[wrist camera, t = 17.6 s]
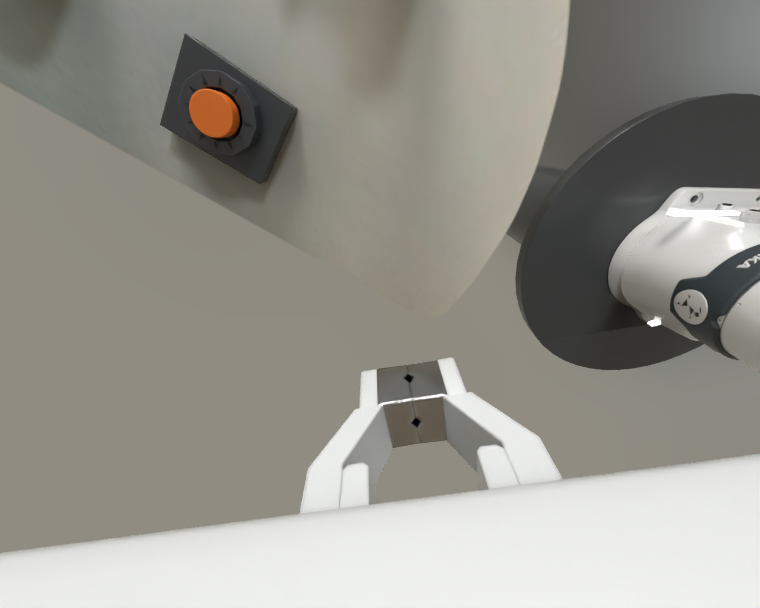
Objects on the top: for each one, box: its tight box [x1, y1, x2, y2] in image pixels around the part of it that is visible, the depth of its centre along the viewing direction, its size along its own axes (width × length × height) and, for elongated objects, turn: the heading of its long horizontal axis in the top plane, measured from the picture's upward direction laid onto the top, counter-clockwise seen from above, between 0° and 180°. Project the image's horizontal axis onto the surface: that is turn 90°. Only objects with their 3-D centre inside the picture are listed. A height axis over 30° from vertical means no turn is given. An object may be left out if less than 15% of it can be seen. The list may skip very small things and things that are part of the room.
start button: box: [189, 89, 240, 138], centre depth 28 cm, size 4×4×2 cm
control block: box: [160, 33, 298, 184], centre depth 30 cm, size 10×8×4 cm
